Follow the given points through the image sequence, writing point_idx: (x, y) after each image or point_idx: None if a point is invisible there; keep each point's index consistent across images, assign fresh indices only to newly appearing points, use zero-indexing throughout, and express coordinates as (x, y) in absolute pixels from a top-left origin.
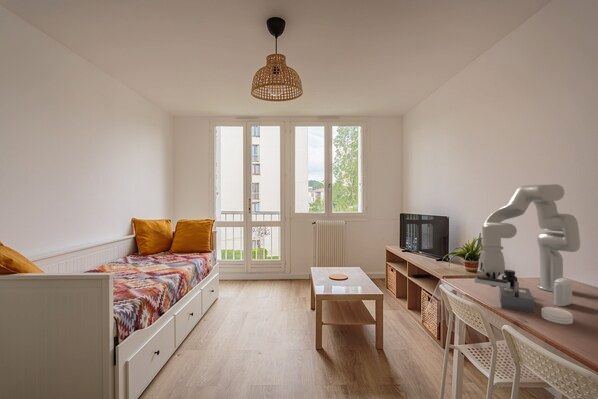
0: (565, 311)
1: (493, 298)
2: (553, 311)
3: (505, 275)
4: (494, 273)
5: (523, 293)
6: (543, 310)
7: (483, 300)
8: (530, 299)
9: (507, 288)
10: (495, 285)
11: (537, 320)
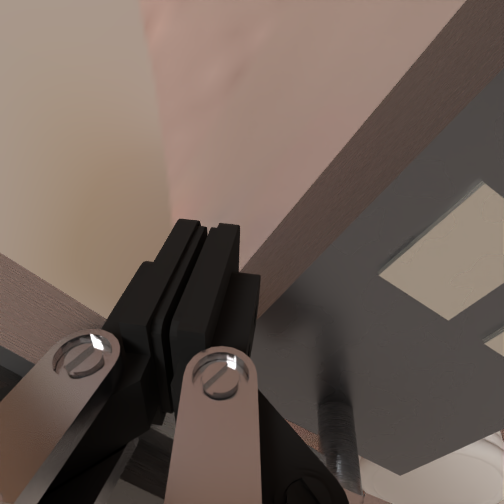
0: (495, 491)
1: (336, 51)
2: (419, 480)
3: None
4: (228, 479)
5: (492, 380)
6: (370, 467)
7: (171, 113)
8: (380, 464)
9: (491, 227)
10: None
11: (299, 431)
